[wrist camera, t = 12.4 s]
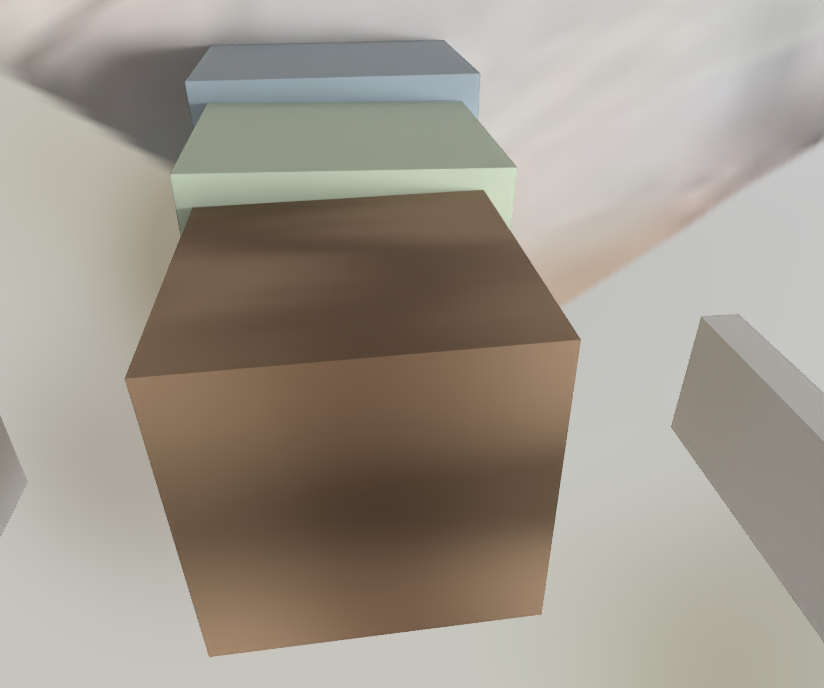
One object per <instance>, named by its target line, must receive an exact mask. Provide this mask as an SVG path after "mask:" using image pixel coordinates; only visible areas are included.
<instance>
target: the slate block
mask: <svg viewBox="0 0 824 688" xmlns="http://www.w3.org/2000/svg"><path fill="white" fill-rule="evenodd" d="M185 86H186V91H187V97H188V103H189V109H190V114H191V120H192V126H193V130H194V128H195V126H196V124H197V122H198V120H199V118H200V117H201V115H202V113H203V111H204V109H205V107H206V105H207V103H238V102H386V101H462V102H463V103H464V104H465V105H466V107H467V108H468V109H469V110H470V111H471V113H472V114H473V115H474V116H475V117H476V119H477V120H478V109H479V90H480V73H479V72H478V71H477V70H476V69H475V68H474V67H473V66H472V65H471V64H469V63H468V62H467V61H466V60H465V59H464V58H463V57H462V56H461V55H460V54H459V53H457V52H456V51H455V50H454V49H453V48H452V47H451V46H450V45H449V44H448V43H447V42H445V41H444V40H437V41H389V42H342V43H295V44H247V45H211V47H210V48H209V49H208V51H207V52H206V53H205V55H204V56H203V57H202V59H201V60H200V62H199V63H198V64H197V66H196V67H195V68H194V70H193V71H192V72H191V74H190V75H189V76H188V78H187V79H186V80H185Z"/></svg>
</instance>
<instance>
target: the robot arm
mask: <svg viewBox="0 0 824 688" xmlns="http://www.w3.org/2000/svg"><path fill="white" fill-rule="evenodd" d="M671 428H672V429H673V431H674V432H675V433H676V435H677V436H678V438H679V439H680V440H681V442H682V443H683V445H684V446H685V448H686V449H687V450H688V452H689V453H690V455H691V456H692V457H693V459H694V460H695V461H696V463H697V464H698V466H699V467H700V469H701V470H702V471H703V473H704V474H705V476H706V477H707V478H708V480H709V481H710V483H711V484H712V486H713V487H714V488H715V490H716V491H717V492H718V494H719V495H720V497H721V498H722V500H723V501H724V502H725V504H726V505H727V507H728V508H729V509H730V511H731V512H732V514H733V515H734V517H735V518H736V519H737V521H738V522H739V523H740V525H741V526H742V528H743V529H744V531H745V532H746V533H747V535H748V536H749V538H750V539H751V540H752V542H753V543H754V545H755V546H756V548H757V549H758V550H759V552H760V553H761V554H762V556H763V557H764V559H765V560H766V562H767V563H768V564H769V566H770V567H771V568H772V570H773V571H774V573H775V574H776V576H777V577H778V579H779V580H780V581H781V583H782V584H783V586H784V587H785V588H786V590H787V591H788V593H789V594H790V595H791V596H792V598H793V600H794V601H795V603H796V604H797V605H798V607H799V608H800V610H801V611H802V612H803V614H804V615H805V616H806V618H807V619H808V621H809V622H810V624H811V625H812V626H813V628H814V629H815V630H816V632H817V634H818V635H819V636H820V638H821V639H822V640H823V642H824V393H823V392H822V391H821V390H820V389H819V388H818V387H816V385H815V384H814V383H812V382H811V381H810V380H809V379H808V378H807V377H806V376H805V375H804V374H803V373H802V372H800V370H798V369H797V368H796V367H795V366H794V365H793V364H792V363H791V362H790V361H789V360H788V359H786V358H785V357H784V356H783V355H782V354H781V353H780V352H779V351H778V350H777V349H776V348H774V346H772V345H771V344H770V343H769V342H768V341H767V340H766V339H765V338H764V337H763V336H762V335H761V334H760V333H758V332H757V331H756V330H755V329H754V328H753V327H752V326H751V325H750V324H749V323H748V322H747V321H745V320H744V319H743V318H742V317H741V316H740V315H739V314H731V315H715V316H702V317H701V319H700V323H699V327H698V330H697V334H696V338H695V341H694V345H693V349H692V352H691V356H690V359H689V363H688V367H687V371H686V374H685V378H684V381H683V385H682V389H681V392H680V396H679V400H678V403H677V407H676V411H675V414H674V418H673V422H672V425H671ZM27 483H28V481H27V479H26V477H25V474H24V472H23V469H22V467H21V464H20V462H19V460H18V457H17V455H16V453H15V450H14V448H13V445H12V443H11V441H10V438H9V436H8V433H7V431H6V429H5V427H4V424H3V421H2V419H1V417H0V537H1V535H2V533H3V531H4V529H5V527H6V525H7V523H8V521H9V519H10V517H11V515H12V513H13V511H14V509H15V507H16V505H17V503H18V501H19V499H20V497H21V495H22V493H23V491H24V489H25V487H26V485H27Z"/></svg>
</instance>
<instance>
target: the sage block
mask: <svg viewBox="0 0 824 688" xmlns="http://www.w3.org/2000/svg"><path fill="white" fill-rule="evenodd" d="M516 174H517V167H516V165H515V164H514V163H513V162H512V161H511V159H510V158H509V157H508V156H507V155H506V153H505V152H504V151H503V150H502V149H501V147H500V146H499V145H498V144H497V143H496V141H495V140H494V139H493V138H492V137H491V135H490V134H489V133H488V132H487V131H486V129H485V128H484V127H483V126H482V125H481V123H480V122H479V121H478V120H477V119H476V117H475V116H474V115H473V114H472V113H471V111H470V110H469V109H468V108H467V107H466V105H465V104H464V103H463V102H462V101H386V102H238V103H207V105H206V107H205V109H204V111H203V113H202V115H201V117H200V118H199V120H198V122H197V124H196V126H195V128H194V130H193V132H192V133H191V135H190V137H189V139H188V141H187V143H186V145H185V147H184V148H183V150H182V152H181V154H180V156H179V158H178V160H177V162H176V163H175V165H174V167H173V169H172V171H171V173H170V178H171V184H172V190H173V195H174V201H175V207H176V213H177V218H178V224H179V230H180V235H182V233H183V230H184V228H185V225H186V223H187V220H188V218H189V215H190V212H191V210H192V207H209V206H225V205H242V204H258V203H275V202H291V201H308V200H324V199H341V198H357V197H374V196H390V195H407V194H423V193H440V192H456V191H472V190H484V191H485V193H486V194H487V196H488V197H489V199H490V200H491V202H492V203H493V205H494V206H495V208H496V210H497V211H498V213H499V214H500V216H501V217H502V219H503V220H504V222H505V223H506V225H507V227H508V228H509V230H510V229H511V220H512V211H513V202H514V193H515V183H516Z"/></svg>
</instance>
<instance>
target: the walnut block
mask: <svg viewBox="0 0 824 688" xmlns="http://www.w3.org/2000/svg"><path fill="white" fill-rule="evenodd" d="M580 341H581V339H580V338H579V336H578V335H577V333H576V332H575V330H574V329H573V327H572V326H571V324H570V322H569V321H568V319H567V318H566V316H565V315H564V313H563V312H562V310H561V308H560V307H559V305H558V304H557V302H556V301H555V299H554V298H553V296H552V295H551V293H550V291H549V290H548V288H547V287H546V285H545V284H544V282H543V281H542V279H541V278H540V276H539V274H538V273H537V271H536V270H535V268H534V267H533V265H532V264H531V262H530V261H529V259H528V257H527V256H526V254H525V253H524V251H523V250H522V248H521V247H520V245H519V244H518V242H517V240H516V239H515V237H514V236H513V234H512V233H511V231H510V230H509V228H508V227H507V225H506V223H505V222H504V220H503V219H502V217H501V216H500V214H499V213H498V211H497V210H496V208H495V206H494V205H493V203H492V202H491V200H490V199H489V197H488V196H487V194H486V193H485V191H484V190H472V191H456V192H440V193H423V194H407V195H390V196H374V197H357V198H341V199H324V200H308V201H291V202H275V203H258V204H242V205H225V206H209V207H192V210H191V212H190V215H189V218H188V220H187V223H186V225H185V228H184V230H183V233H182V235H181V238H180V240H179V243H178V245H177V248H176V250H175V253H174V255H173V258H172V260H171V263H170V265H169V268H168V271H167V273H166V276H165V278H164V281H163V283H162V286H161V288H160V291H159V293H158V296H157V298H156V301H155V303H154V306H153V308H152V311H151V313H150V316H149V319H148V321H147V324H146V326H145V329H144V331H143V334H142V336H141V339H140V341H139V344H138V346H137V349H136V351H135V354H134V357H133V359H132V362H131V364H130V366H129V369H128V372H127V374H126V377H125V381H126V385H127V388H128V391H129V395H130V398H131V401H132V404H133V408H134V411H135V414H136V418H137V421H138V424H139V427H140V431H141V434H142V437H143V441H144V444H145V447H146V451H147V454H148V457H149V460H150V464H151V467H152V470H153V473H154V477H155V480H156V483H157V487H158V490H159V493H160V497H161V500H162V503H163V506H164V510H165V513H166V516H167V520H168V523H169V526H170V530H171V532H172V536H173V539H174V543H175V546H176V549H177V553H178V556H179V559H180V562H181V566H182V569H183V572H184V576H185V579H186V582H187V585H188V588H189V592H190V595H191V599H192V602H193V605H194V609H195V612H196V615H197V619H198V622H199V625H200V628H201V632H202V635H203V638H204V641H205V645H206V648H207V651H208V655H209V657H213V656H220V655H228V654H235V653H244V652H252V651H259V650H267V649H275V648H282V647H290V646H298V645H306V644H314V643H322V642H329V641H337V640H345V639H353V638H361V637H367V636H376V635H384V634H392V633H400V632H408V631H416V630H423V629H431V628H439V627H447V626H454V625H462V624H470V623H478V622H485V621H493V620H501V619H509V618H516V617H524V616H533V615H540V614H541V613H542V607H543V600H544V593H545V586H546V578H547V571H548V565H549V558H550V550H551V544H552V536H553V530H554V523H555V515H556V509H557V508H556V507H557V502H558V494H559V488H560V480H561V473H562V467H563V459H564V453H565V446H566V439H567V432H568V425H569V418H570V411H571V404H572V397H573V390H574V383H575V375H576V369H577V362H578V355H579V348H580Z"/></svg>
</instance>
